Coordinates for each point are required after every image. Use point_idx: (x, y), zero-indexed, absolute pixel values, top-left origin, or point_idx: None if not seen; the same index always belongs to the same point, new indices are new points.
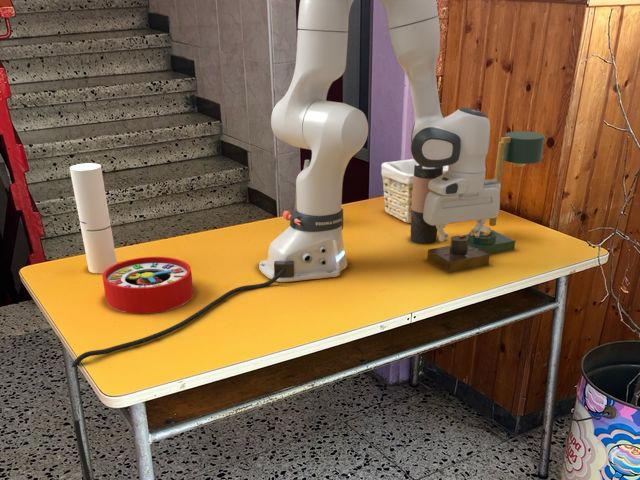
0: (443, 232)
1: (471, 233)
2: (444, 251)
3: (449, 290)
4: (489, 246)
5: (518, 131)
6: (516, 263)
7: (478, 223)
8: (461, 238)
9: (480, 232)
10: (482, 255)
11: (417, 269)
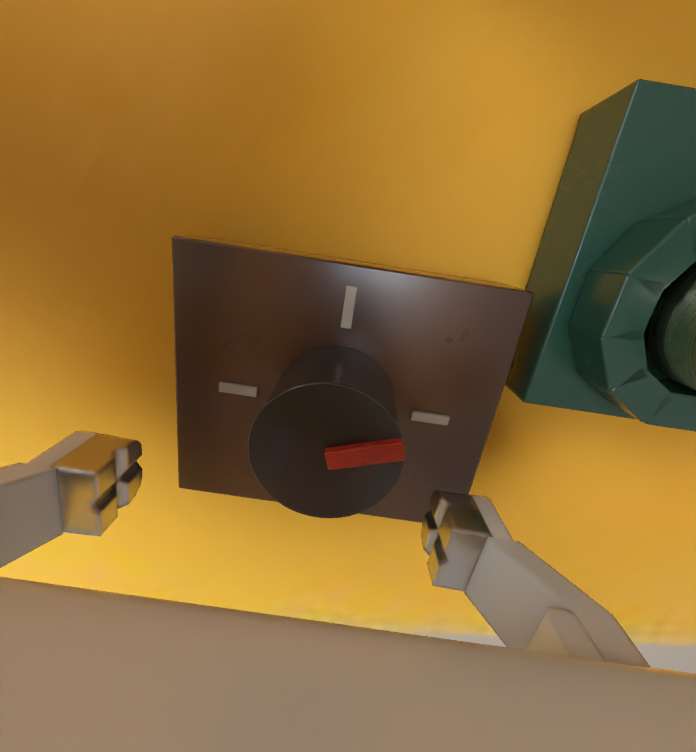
0: (10, 553)
1: (437, 508)
2: (258, 342)
3: (105, 563)
4: (610, 413)
5: None
6: (570, 532)
7: (538, 613)
8: (334, 466)
9: (684, 365)
10: (409, 518)
11: (87, 314)
